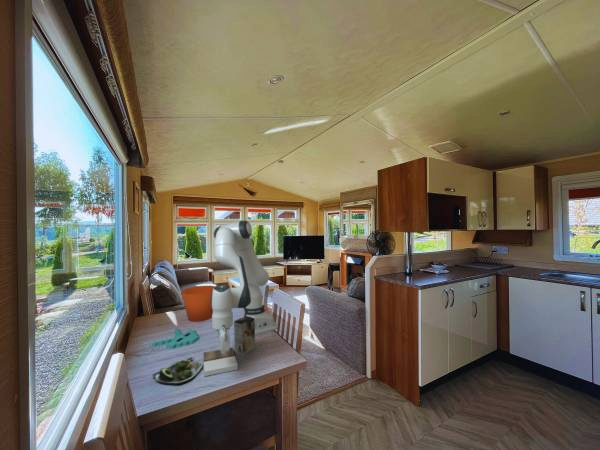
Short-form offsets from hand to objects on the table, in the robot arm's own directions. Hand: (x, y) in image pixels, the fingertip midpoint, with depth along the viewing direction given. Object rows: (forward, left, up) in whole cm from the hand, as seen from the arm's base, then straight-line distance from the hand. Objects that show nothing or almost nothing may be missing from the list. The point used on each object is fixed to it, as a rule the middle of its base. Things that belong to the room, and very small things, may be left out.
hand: (223, 352), depth 114 cm
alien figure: (+20, -42, -9) cm, 47 cm away
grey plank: (+1, -3, -8) cm, 8 cm away
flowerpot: (+9, -75, -8) cm, 76 cm away
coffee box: (-12, -15, -8) cm, 21 cm away
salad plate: (+19, -5, -9) cm, 21 cm away
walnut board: (+1, -12, -8) cm, 15 cm away
